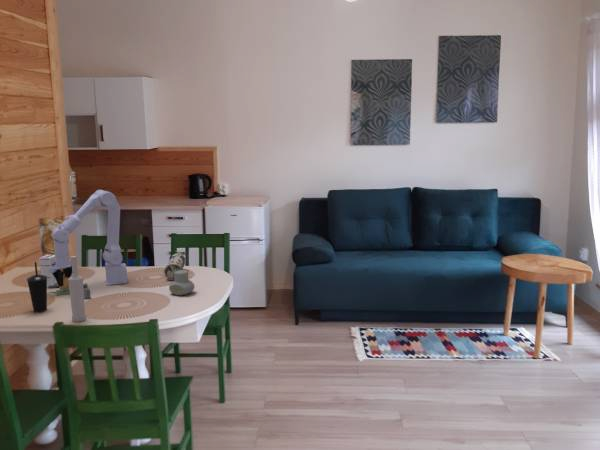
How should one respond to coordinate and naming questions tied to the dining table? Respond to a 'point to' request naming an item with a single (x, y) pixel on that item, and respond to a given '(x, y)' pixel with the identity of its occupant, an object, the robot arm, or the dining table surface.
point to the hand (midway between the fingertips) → (64, 284)
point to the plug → (65, 286)
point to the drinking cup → (38, 291)
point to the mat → (63, 292)
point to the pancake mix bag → (48, 235)
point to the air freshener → (181, 283)
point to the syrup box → (45, 264)
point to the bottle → (76, 293)
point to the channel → (86, 291)
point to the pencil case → (174, 265)
